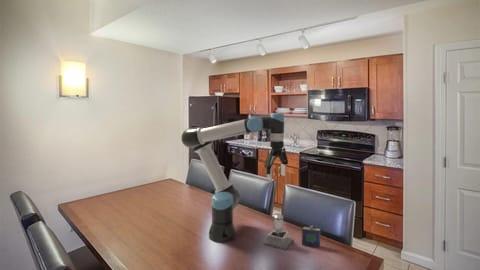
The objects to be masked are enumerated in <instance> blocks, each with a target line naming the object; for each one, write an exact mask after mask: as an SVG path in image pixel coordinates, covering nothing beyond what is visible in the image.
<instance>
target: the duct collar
mask: <svg viewBox="0 0 480 270" xmlns="http://www.w3.org/2000/svg"><path fill="white" fill-rule="evenodd" d="M289 234H290V231H286V230H283V238H282V237H278V236H274V228H273V229H272V230H271V231H270V232H269V233H268V235H267V239H266V240H265V241H263V246H269V247H271V248H276V249H280V250H282V251H283V250H284V251H287V249H288V248H289V246H290V244H291V243H292V241H294V240H293V239H294V238H291V237H290V235H289Z"/></svg>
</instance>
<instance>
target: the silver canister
mask: <svg viewBox="0 0 480 270" xmlns="http://www.w3.org/2000/svg"><path fill="white" fill-rule="evenodd" d="M283 215H284V214H282V213H275V214H274V215H273V229H274V236H278V237H282V238H283V231H284V228H283V227H284V222H283V221H284V216H283Z"/></svg>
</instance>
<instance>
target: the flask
mask: <svg viewBox="0 0 480 270" xmlns="http://www.w3.org/2000/svg"><path fill="white" fill-rule="evenodd" d="M301 228H302V229H301V231H302V232H301V233H302V235H301V246H304V247H313V248H320V247H321V229H320V228H314V225H310V226H309V227H307V226H304V227H301Z"/></svg>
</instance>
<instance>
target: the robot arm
mask: <svg viewBox="0 0 480 270" xmlns="http://www.w3.org/2000/svg"><path fill="white" fill-rule="evenodd" d="M260 131H270V135H269V136H270V138H269V139H270V142H269V144H270V148H271V149H268V150H267V155H266V158H265V163H264V166H263V167H264V168H265V169H266V180H269V181H272V179H273V168H272V166H273V164H274V162H275V160H276V159H277V158H278V159H279V161H280V163H281V164H280V175H281V176H284V177H286V173H287V172H286V170H287V169H286V167H287V165H288V163H289V160H288V155H287V152H286V148H285V141H284V140H285V114H284V113H281V112H280V113H273V112H272V113H271V114H270V116H255V115H254V116H250V117H249V118H246V119H241V120H236V121H231V122H228V123H223V124H218V125H213V126H209V127H208V126H207V127H203V126H196V127H189V128H187V129H185V130H184V131H183V132H182V134H181V142H182V144H183V146H185V147H186V148H189V149H192V150H193V152H194V153H196V154H198V156H199V159H200V161H201V163H202V164H203V166H204V168H205V170H206V172H207V174H208V176H209V177H210V180H211V183H212V184H213V186H214V188H215V191H214V194H213V195H212V197H211V224H210V228H209V231H208V238H209V239H210V240H211V241H212V242H216V243H227V242H231V241H232V240H235V238H236V237H237V230H236V228H235V224H234V210H235V209H236V207H237V206H238V205H239V204H240V201H241V193H240V191H239V190H238V189H237V188H236V187H235V186H234V185H233V183H232V182H230V181H229V180H228V178H227V177H226V174H225V172H224V171H223V168H222V166H221V164H220V163H219V161H218V159H217V156H216V154H215V152H214V151H213V148H212V144H213V143H212V141H217V140H222V139H223V140H224V139H228V138H232V137H236V136H240V135H241V136H242V135H245V134H250V133H259V132H260Z"/></svg>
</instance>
